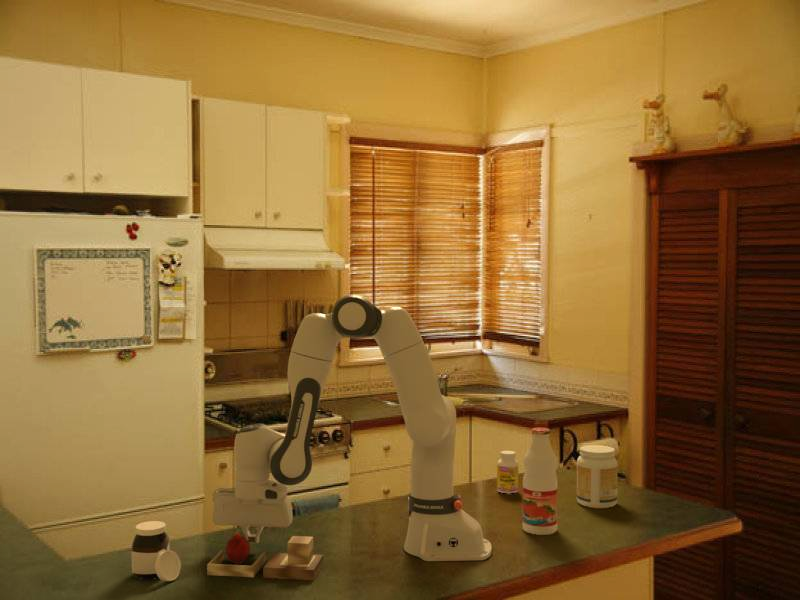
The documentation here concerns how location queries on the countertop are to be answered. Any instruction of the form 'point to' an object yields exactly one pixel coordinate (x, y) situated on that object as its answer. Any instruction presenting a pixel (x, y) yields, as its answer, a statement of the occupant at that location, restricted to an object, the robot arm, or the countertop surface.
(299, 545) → the oak block
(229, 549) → the onion
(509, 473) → the supplement bottle
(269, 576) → the wooden tray
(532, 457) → the fruit juice
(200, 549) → the countertop surface
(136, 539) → the spread jar
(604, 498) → the supplement tub
